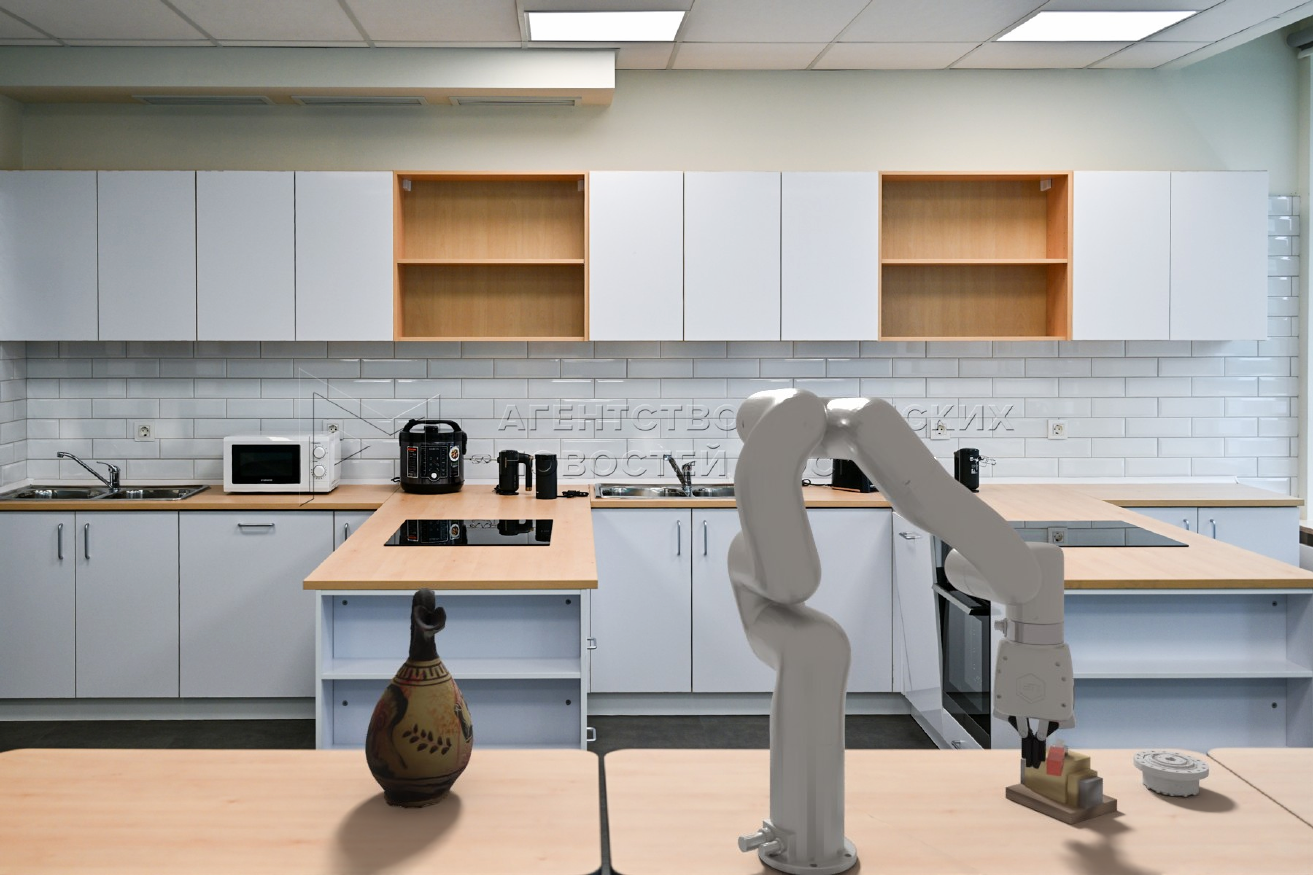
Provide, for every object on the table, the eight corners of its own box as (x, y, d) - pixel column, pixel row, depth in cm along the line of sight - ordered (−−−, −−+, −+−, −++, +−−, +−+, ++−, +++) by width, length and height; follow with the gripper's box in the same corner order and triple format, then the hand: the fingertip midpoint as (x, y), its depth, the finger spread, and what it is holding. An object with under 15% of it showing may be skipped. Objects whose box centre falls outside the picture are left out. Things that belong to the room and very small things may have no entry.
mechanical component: (1201, 775, 138) (1125, 760, 145) (1200, 806, 138) (1125, 789, 145) (1214, 757, 146) (1142, 743, 152) (1214, 786, 146) (1142, 771, 152)
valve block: (1070, 824, 132) (1071, 772, 132) (1005, 797, 142) (1005, 749, 142) (1117, 809, 137) (1117, 759, 137) (1050, 784, 147) (1051, 738, 147)
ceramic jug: (483, 806, 138) (482, 597, 138) (370, 823, 132) (370, 604, 132) (461, 767, 154) (461, 579, 153) (360, 780, 148) (359, 585, 148)
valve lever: (1053, 749, 141) (1053, 732, 141) (1068, 751, 140) (1068, 734, 140) (1045, 777, 130) (1045, 759, 130) (1061, 780, 129) (1061, 761, 129)
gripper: (972, 631, 134) (972, 764, 134) (1090, 643, 126) (1089, 783, 127) (983, 622, 140) (983, 748, 140) (1096, 633, 133) (1095, 766, 133)
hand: (1033, 764), depth 134 cm, fingers closed
